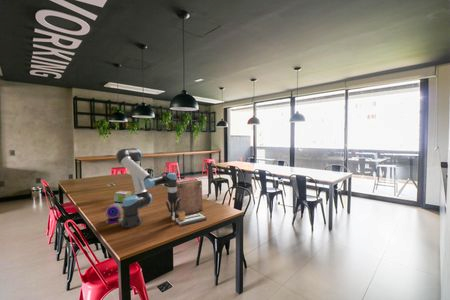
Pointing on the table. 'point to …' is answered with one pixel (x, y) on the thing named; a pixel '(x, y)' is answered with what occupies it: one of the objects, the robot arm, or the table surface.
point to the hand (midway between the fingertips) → (173, 219)
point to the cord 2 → (193, 221)
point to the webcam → (114, 213)
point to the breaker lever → (181, 215)
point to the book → (189, 196)
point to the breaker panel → (190, 218)
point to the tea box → (121, 197)
